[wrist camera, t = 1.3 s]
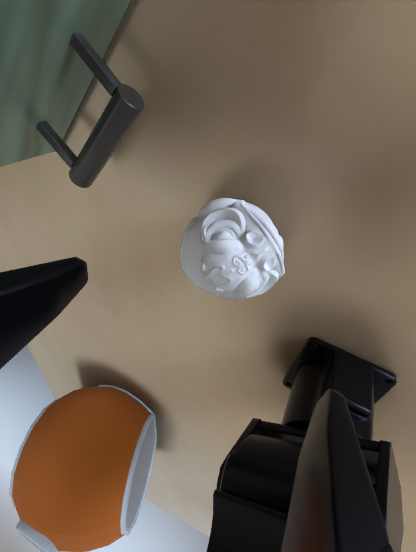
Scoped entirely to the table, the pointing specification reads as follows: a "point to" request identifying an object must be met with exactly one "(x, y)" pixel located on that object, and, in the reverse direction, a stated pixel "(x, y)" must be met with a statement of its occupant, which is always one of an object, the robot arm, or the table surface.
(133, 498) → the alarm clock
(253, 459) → the robot arm
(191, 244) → the white carved sculpture
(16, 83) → the drawer
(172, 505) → the table surface
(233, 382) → the table surface
